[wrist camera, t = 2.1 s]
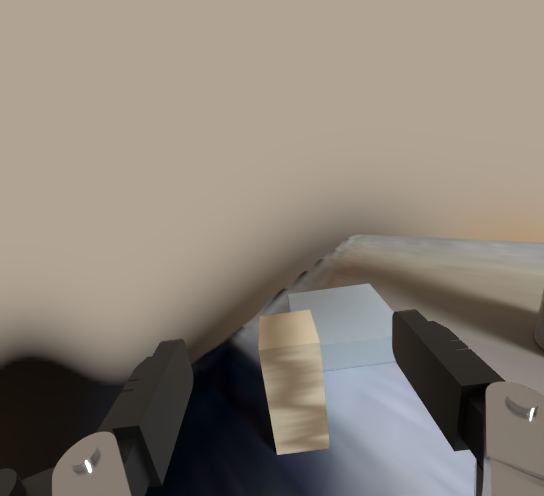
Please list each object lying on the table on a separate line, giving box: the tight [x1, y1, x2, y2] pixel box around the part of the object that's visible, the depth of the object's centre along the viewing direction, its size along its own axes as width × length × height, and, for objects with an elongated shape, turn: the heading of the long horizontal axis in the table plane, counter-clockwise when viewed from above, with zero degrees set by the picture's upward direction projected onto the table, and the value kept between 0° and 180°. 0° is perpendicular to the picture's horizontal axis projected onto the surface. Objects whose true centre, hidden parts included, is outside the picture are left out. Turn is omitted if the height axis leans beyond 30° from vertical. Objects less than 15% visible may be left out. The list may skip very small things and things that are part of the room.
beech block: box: [258, 310, 330, 455], centre depth 26 cm, size 5×5×12 cm
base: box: [288, 284, 396, 371], centre depth 41 cm, size 14×14×4 cm
